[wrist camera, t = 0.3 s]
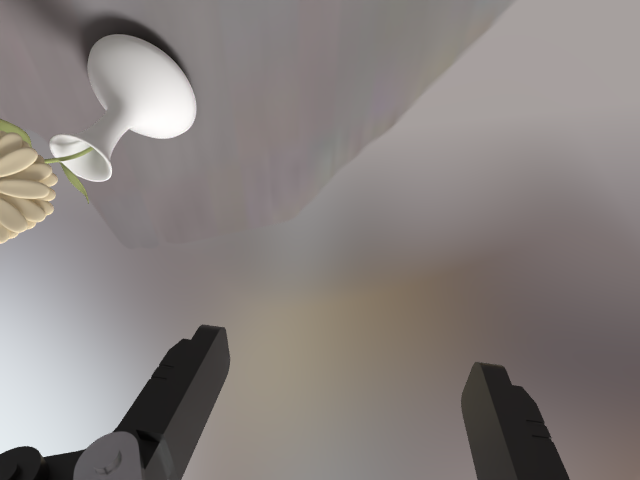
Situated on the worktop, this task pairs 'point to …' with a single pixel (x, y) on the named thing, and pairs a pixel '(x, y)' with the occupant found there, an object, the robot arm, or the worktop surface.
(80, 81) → the worktop surface
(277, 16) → the worktop surface
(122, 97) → the flower in vase
